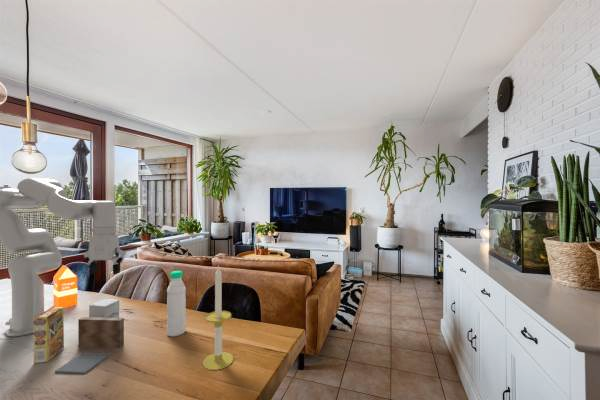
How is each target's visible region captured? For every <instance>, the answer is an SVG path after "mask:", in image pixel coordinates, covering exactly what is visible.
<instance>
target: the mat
mask: <svg viewBox="0 0 600 400" xmlns="http://www.w3.org/2000/svg"><path fill="white" fill-rule="evenodd" d="M110 355H111V354H110V353H95V352H92V353H91V352H82V353H80V354H78V355H77V356H75V357H74V358H72V359H70V360H69V361H67V362H66V363H64V364H63V365H61V366H60V367H59V368H57V369H55V370H54V373H55V374H76V375H78V374H79V375H86V374H87V373H88V372H90V371H91V370H92V369H94V368H96V367H97V366H98V365H99V364H101V363H102V362H103V361H104V360H106V359H107V358H108V357H110Z"/></svg>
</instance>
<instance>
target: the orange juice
mask: <svg viewBox="0 0 600 400" xmlns="http://www.w3.org/2000/svg"><path fill="white" fill-rule="evenodd" d="M52 278H53V289H52V290H53V291H52V293H53V294H52V295H53V306H54V307H63V309H65V308H70V307H74V306H77V305H78V275H76V274H75V273H74V272H73V271H72V270H71V269H70V268H69V267H68V266H66V265H64V264H62V265H61V267H59V269H58V270H57V272H56V273H55V274H54V276H53V277H52ZM73 305H74V306H73ZM69 306H70V307H69Z"/></svg>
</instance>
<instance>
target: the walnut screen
mask: <svg viewBox="0 0 600 400" xmlns="http://www.w3.org/2000/svg"><path fill="white" fill-rule="evenodd" d="M77 323H78V332H77V333H78V337H77V338H78V342H77V343H78V344H77V345H78V347H88V348H89V347H90V348H91V347H92V348H93V347H94V348H114V347H115V348H116V349H117V348H121V347H123V346H124V345H125V339H124V338H125V337H124V336H125V335H124V334H125V332H124V331H125V325H124V323H125V317H119V318H102V317H89V316H82V317H79V318H78V322H77Z"/></svg>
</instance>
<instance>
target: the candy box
mask: <svg viewBox="0 0 600 400" xmlns="http://www.w3.org/2000/svg"><path fill="white" fill-rule="evenodd" d="M64 325H65V324H64V308H63V307H55V306H54V307H50V308H48V309H47V310H44V312H43V313H42V314H40V315H38V316H37V317H34V333H33V356H34V357H33V363H34V364H39V363H46V362H47V363H48V362H49V361H50V360H51V359H53V358H54V357H55V356H56V355H57V354H58V353H60V352H61V351H62V350H63V349H64V348H65V340H64V339H65V338H64V337H65V334H64V332H65V329H64Z"/></svg>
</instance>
